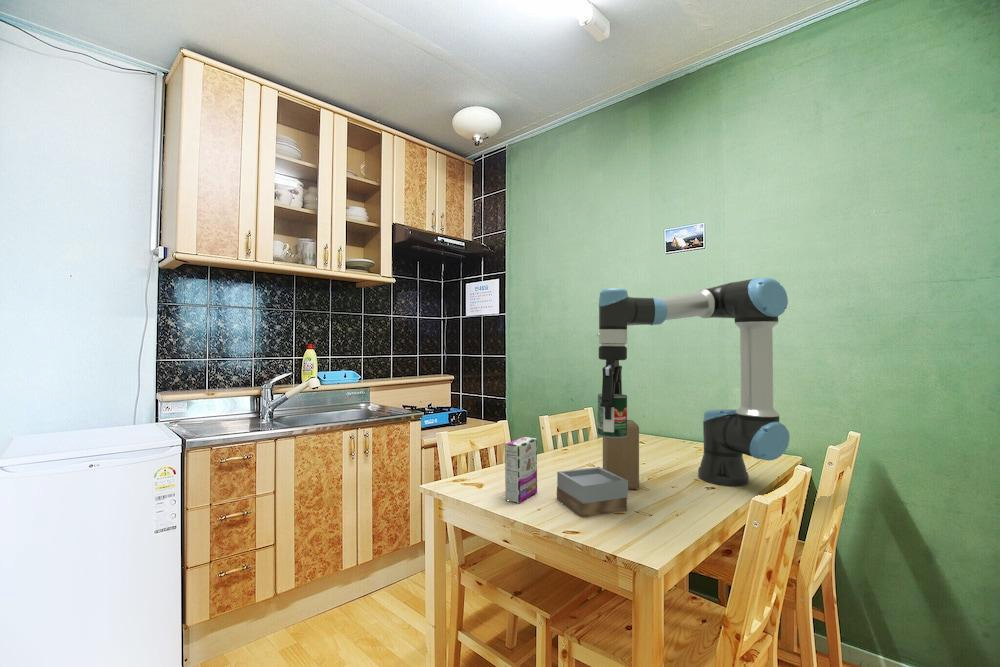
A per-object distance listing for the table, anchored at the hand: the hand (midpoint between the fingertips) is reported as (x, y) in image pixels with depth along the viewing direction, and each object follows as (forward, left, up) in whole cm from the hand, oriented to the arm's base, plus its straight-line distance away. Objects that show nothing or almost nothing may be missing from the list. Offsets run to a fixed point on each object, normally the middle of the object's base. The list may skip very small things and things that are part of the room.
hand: (612, 428), depth 124 cm
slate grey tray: (+4, -4, -18) cm, 19 cm away
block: (-14, -17, -22) cm, 31 cm away
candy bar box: (+20, -16, -22) cm, 34 cm away
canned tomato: (0, 0, -2) cm, 2 cm away
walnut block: (+4, -4, -22) cm, 23 cm away
